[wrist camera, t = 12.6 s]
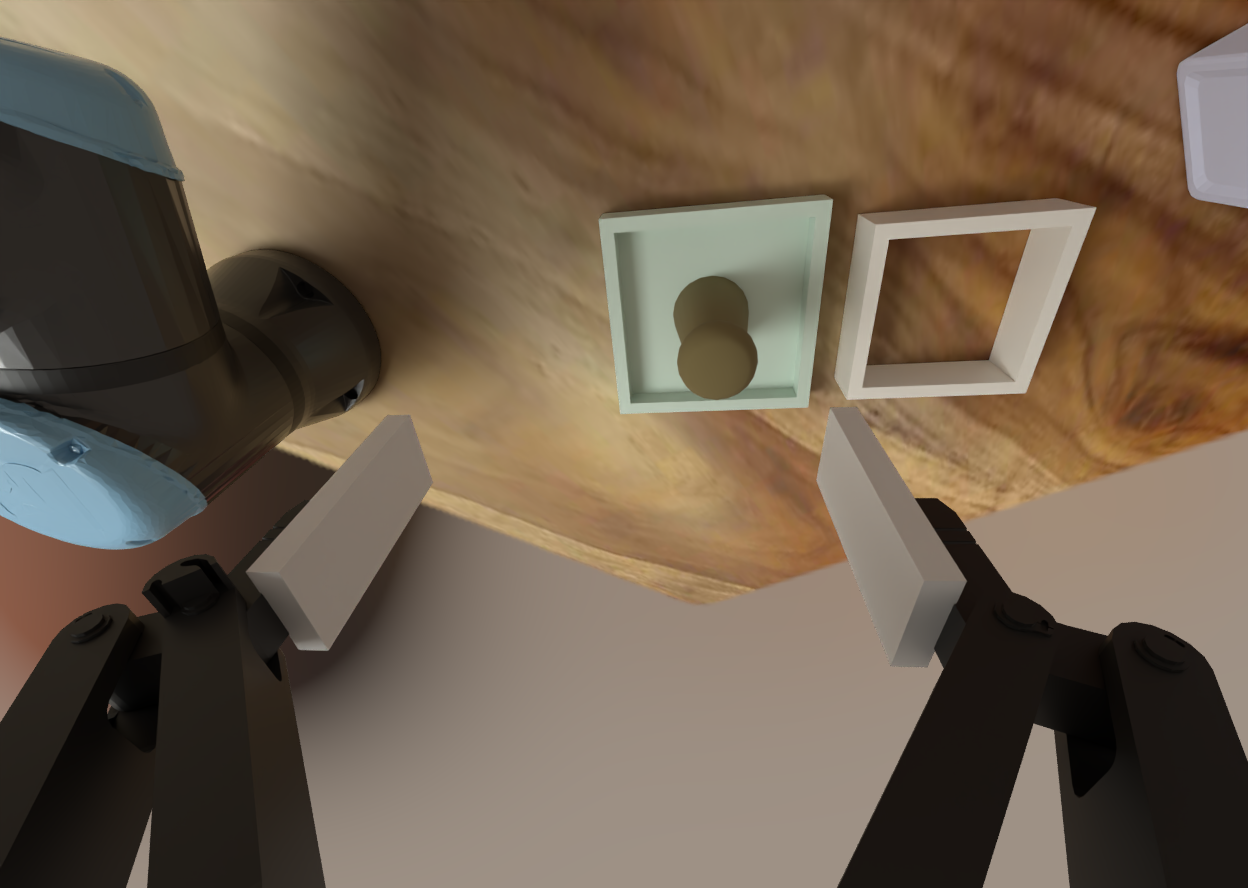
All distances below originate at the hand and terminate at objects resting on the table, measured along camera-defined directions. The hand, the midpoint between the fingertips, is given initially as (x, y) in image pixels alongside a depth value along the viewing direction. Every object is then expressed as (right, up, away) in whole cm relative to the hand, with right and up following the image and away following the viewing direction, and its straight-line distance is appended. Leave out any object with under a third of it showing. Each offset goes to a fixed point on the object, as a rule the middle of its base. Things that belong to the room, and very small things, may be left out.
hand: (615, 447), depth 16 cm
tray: (+7, +11, +25) cm, 28 cm away
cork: (+7, +11, +25) cm, 28 cm away
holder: (+24, +11, +23) cm, 35 cm away
